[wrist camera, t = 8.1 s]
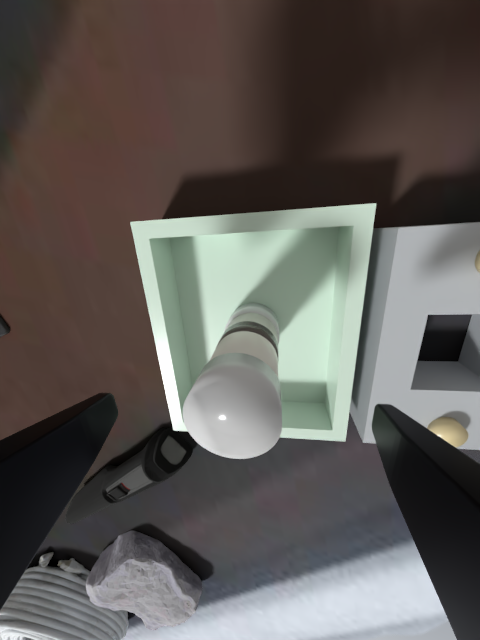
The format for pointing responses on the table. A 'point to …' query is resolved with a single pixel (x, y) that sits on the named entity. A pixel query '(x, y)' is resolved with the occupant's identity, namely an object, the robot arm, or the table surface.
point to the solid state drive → (3, 327)
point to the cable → (58, 607)
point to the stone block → (144, 581)
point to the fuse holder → (420, 330)
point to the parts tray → (263, 301)
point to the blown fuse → (239, 388)
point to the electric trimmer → (132, 475)
